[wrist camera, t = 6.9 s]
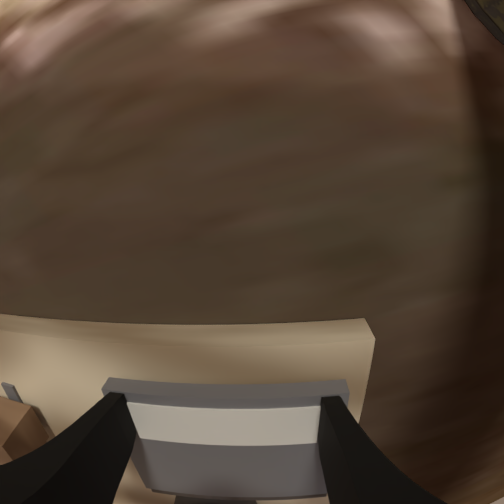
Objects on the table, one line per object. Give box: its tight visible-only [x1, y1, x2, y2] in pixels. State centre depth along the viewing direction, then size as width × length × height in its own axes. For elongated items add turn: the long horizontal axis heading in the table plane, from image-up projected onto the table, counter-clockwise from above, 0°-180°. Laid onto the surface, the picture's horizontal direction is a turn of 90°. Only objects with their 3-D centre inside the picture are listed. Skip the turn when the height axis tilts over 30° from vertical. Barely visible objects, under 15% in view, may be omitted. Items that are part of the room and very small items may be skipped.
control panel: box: [0, 314, 375, 504], centre depth 14 cm, size 15×20×2 cm
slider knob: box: [0, 396, 49, 465], centre depth 11 cm, size 2×4×3 cm, turn 93°
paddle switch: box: [101, 377, 350, 497], centre depth 12 cm, size 7×9×1 cm
